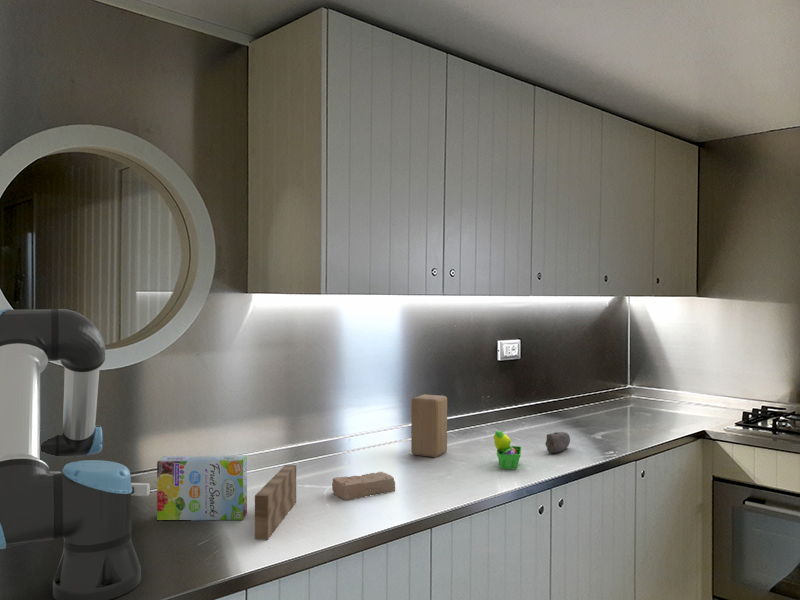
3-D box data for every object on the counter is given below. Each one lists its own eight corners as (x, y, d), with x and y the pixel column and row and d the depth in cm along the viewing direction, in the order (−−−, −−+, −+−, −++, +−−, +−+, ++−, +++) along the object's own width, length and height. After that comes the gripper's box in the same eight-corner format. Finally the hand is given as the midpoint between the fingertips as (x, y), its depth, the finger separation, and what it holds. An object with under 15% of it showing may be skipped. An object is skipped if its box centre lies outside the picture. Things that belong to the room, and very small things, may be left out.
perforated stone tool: (562, 446, 233) (562, 427, 233) (575, 448, 229) (575, 429, 229) (541, 453, 222) (541, 433, 222) (554, 456, 219) (554, 436, 219)
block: (410, 455, 220) (410, 397, 219) (422, 448, 228) (422, 393, 228) (436, 458, 215) (436, 399, 215) (448, 452, 224) (448, 395, 224)
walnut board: (267, 539, 143) (267, 495, 143) (254, 539, 143) (254, 495, 143) (296, 502, 169) (296, 465, 169) (285, 502, 169) (285, 464, 169)
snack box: (247, 513, 161) (247, 454, 161) (243, 521, 155) (243, 459, 155) (163, 514, 160) (163, 454, 160) (155, 522, 154) (155, 460, 154)
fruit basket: (520, 470, 200) (520, 435, 200) (492, 469, 202) (492, 434, 202) (521, 461, 211) (521, 427, 211) (494, 460, 213) (494, 426, 213)
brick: (382, 484, 186) (382, 468, 186) (396, 492, 179) (396, 475, 179) (330, 494, 177) (330, 477, 177) (344, 502, 170) (344, 485, 170)
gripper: (74, 493, 167) (160, 496, 165) (42, 510, 154) (135, 513, 152) (74, 465, 167) (160, 467, 165) (42, 479, 154) (135, 482, 152)
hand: (148, 489), depth 159 cm, fingers closed
